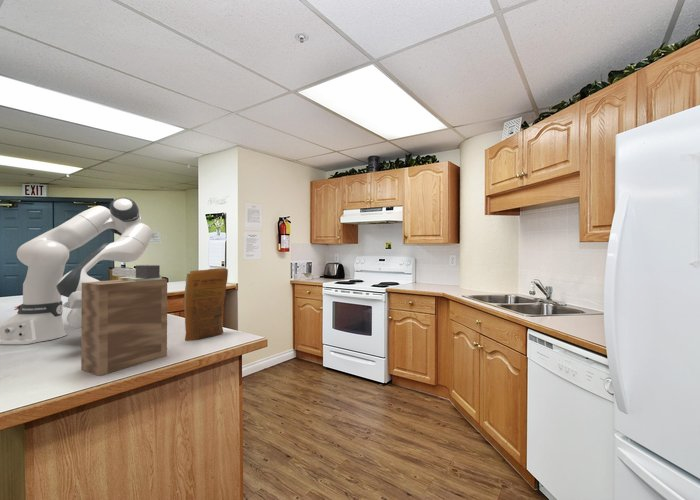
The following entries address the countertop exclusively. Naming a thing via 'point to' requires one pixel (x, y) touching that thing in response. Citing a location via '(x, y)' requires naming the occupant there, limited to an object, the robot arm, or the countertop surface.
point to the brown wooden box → (123, 323)
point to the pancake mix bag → (204, 303)
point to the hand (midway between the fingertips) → (115, 286)
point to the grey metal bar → (139, 271)
